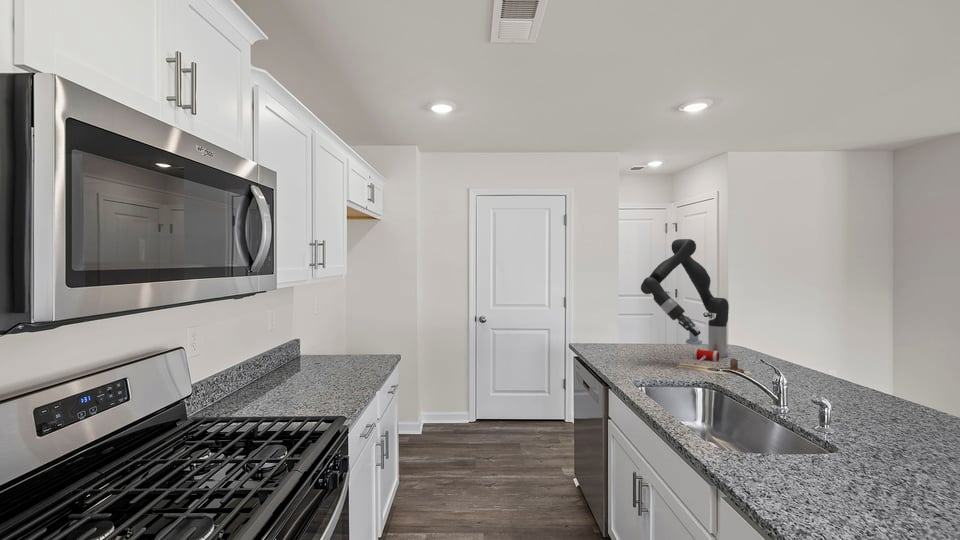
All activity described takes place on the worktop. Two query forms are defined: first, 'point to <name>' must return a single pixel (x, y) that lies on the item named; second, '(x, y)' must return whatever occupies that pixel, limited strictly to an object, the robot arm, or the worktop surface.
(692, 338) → the gear
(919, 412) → the worktop surface
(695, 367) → the gear board
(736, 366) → the gear
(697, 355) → the toy hammer
